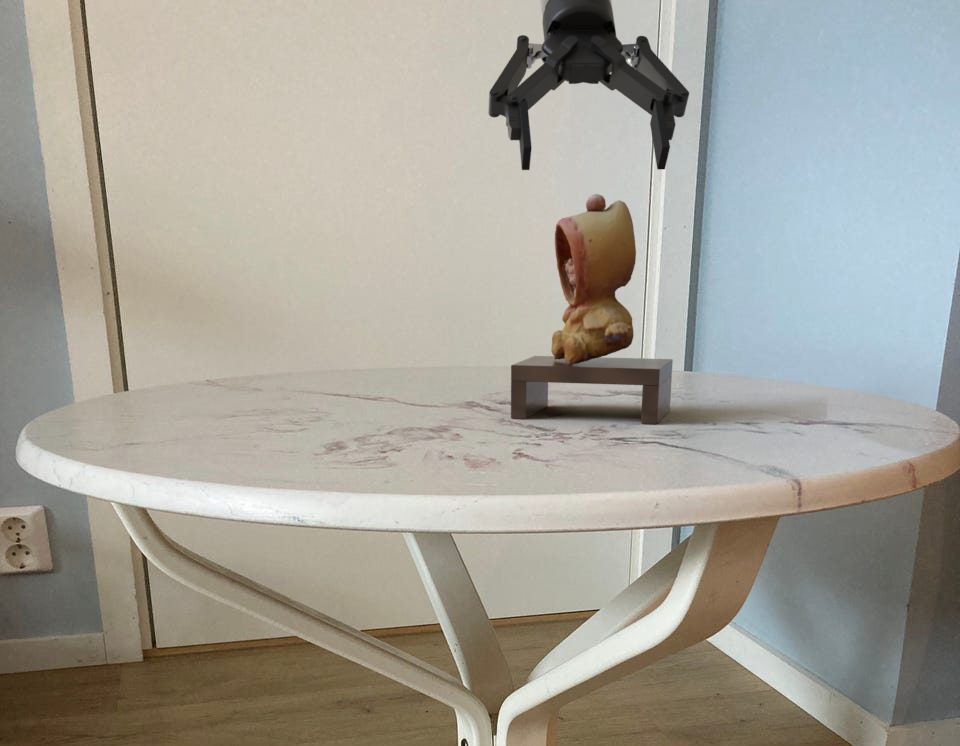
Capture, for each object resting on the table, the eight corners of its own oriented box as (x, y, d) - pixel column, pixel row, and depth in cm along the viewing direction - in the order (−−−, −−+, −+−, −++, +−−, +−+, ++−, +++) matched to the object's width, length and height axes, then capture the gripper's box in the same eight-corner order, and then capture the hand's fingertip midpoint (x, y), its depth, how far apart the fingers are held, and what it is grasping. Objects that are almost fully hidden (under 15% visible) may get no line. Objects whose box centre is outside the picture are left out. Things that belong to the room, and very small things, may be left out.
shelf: (670, 410, 110) (672, 359, 108) (656, 424, 102) (659, 369, 100) (533, 405, 114) (534, 355, 112) (510, 418, 106) (510, 365, 104)
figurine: (540, 357, 110) (542, 195, 105) (611, 355, 112) (617, 196, 106) (572, 368, 101) (576, 191, 96) (649, 366, 102) (657, 191, 97)
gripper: (685, 47, 122) (711, 188, 113) (459, 47, 120) (468, 189, 111) (700, -18, 115) (729, 126, 106) (461, -19, 114) (470, 126, 105)
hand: (595, 159), depth 109 cm, fingers open, 13 cm apart
